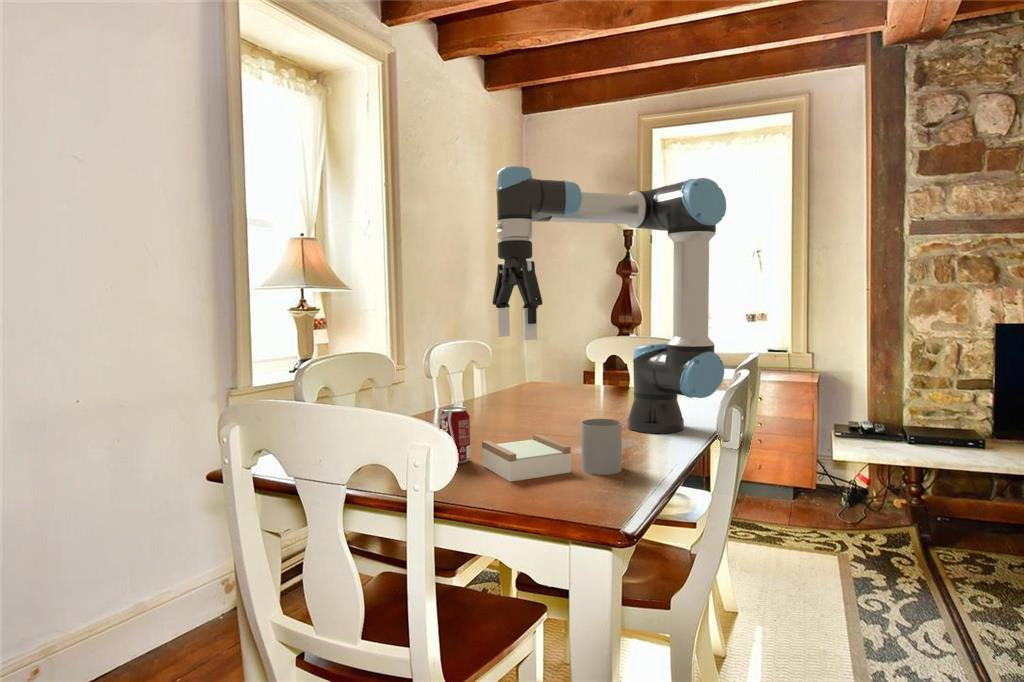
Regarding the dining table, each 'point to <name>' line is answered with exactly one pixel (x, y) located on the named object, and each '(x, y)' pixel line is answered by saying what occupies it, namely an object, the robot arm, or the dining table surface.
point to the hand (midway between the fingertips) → (516, 338)
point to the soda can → (457, 429)
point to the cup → (601, 446)
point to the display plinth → (527, 458)
